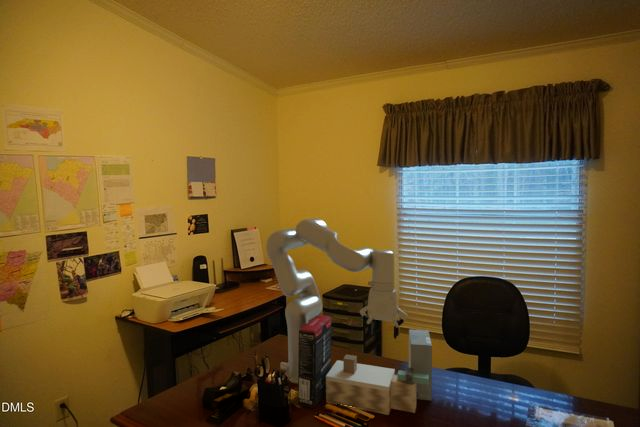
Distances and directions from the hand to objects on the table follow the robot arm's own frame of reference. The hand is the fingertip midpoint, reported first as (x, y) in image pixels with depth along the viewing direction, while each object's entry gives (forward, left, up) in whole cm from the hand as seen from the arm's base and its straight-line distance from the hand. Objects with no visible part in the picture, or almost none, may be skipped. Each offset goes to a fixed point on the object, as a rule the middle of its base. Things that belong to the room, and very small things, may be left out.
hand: (383, 335), depth 126 cm
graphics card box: (-24, -4, -24) cm, 34 cm away
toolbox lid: (-8, 0, -16) cm, 18 cm away
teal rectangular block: (+10, 0, -14) cm, 17 cm away
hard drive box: (+11, +14, -24) cm, 30 cm away
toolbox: (-4, 0, -24) cm, 24 cm away
